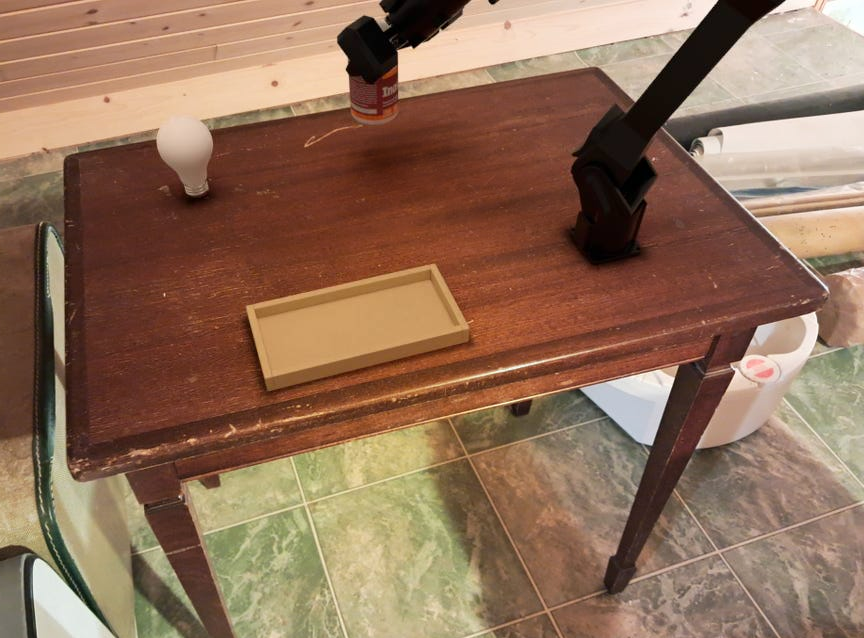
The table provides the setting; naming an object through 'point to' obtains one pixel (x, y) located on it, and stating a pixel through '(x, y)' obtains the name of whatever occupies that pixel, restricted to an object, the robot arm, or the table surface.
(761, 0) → the robot arm
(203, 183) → the light bulb
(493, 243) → the table surface
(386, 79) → the pill bottle
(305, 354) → the tray
